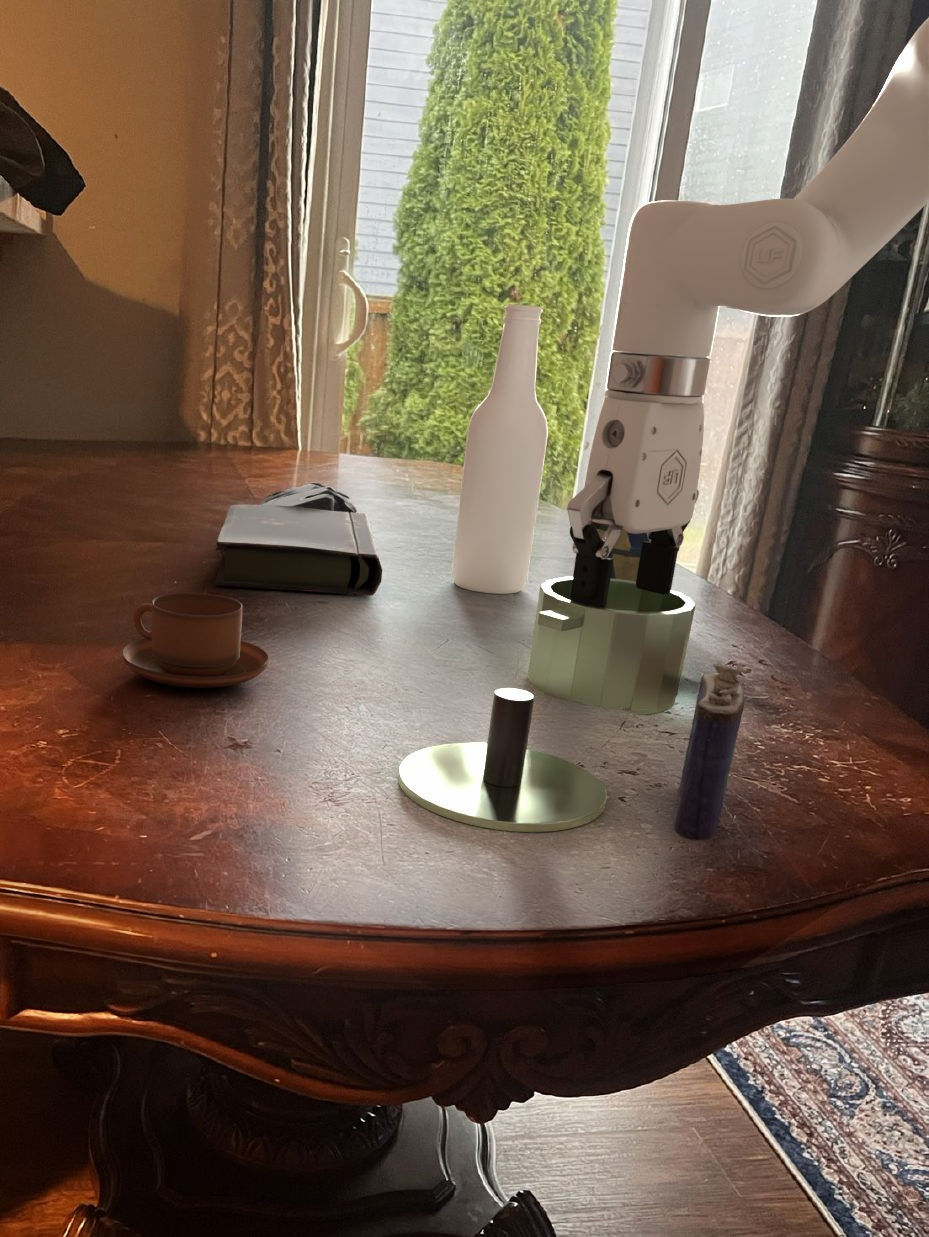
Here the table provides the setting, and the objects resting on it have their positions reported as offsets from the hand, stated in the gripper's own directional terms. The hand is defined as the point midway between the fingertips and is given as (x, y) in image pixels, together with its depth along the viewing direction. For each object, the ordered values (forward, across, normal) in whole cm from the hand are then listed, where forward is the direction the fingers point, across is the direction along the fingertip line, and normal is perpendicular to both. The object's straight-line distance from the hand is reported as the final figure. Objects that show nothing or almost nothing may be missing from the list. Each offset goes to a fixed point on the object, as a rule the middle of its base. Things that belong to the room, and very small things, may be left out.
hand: (620, 597), depth 98 cm
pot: (+8, 0, 0) cm, 8 cm away
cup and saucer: (+8, -28, +22) cm, 36 cm away
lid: (+8, -26, -10) cm, 29 cm away
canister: (+8, +20, +12) cm, 25 cm away
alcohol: (+8, +22, +32) cm, 39 cm away
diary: (+8, +7, +48) cm, 50 cm away
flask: (+9, -18, -20) cm, 28 cm away
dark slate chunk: (+8, +30, +71) cm, 78 cm away
